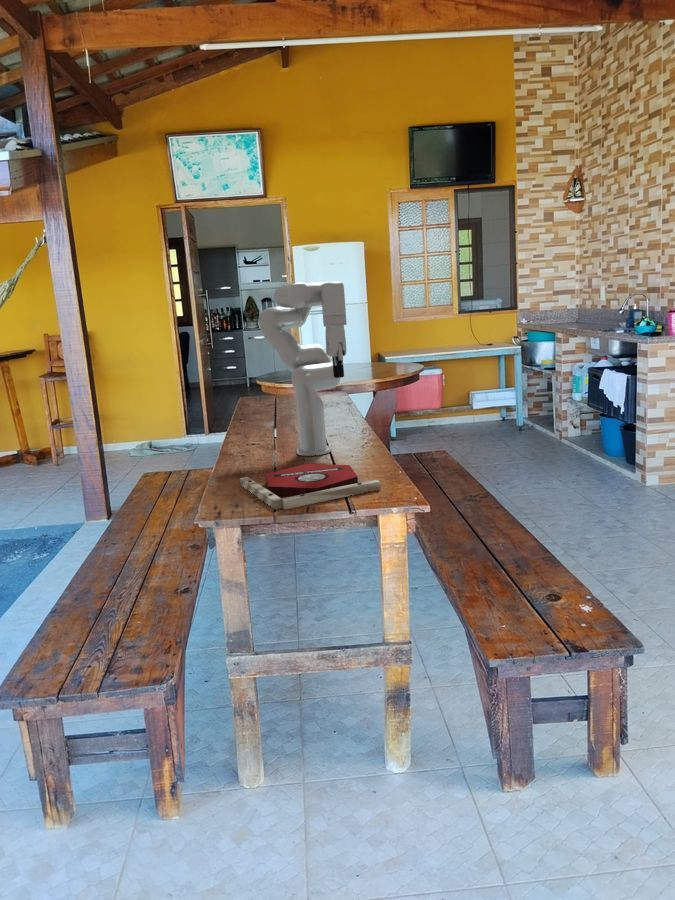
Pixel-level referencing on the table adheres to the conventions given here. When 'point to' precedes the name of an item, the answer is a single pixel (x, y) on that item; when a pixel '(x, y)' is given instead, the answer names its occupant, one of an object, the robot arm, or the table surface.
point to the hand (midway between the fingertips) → (338, 377)
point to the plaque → (309, 479)
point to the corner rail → (309, 497)
